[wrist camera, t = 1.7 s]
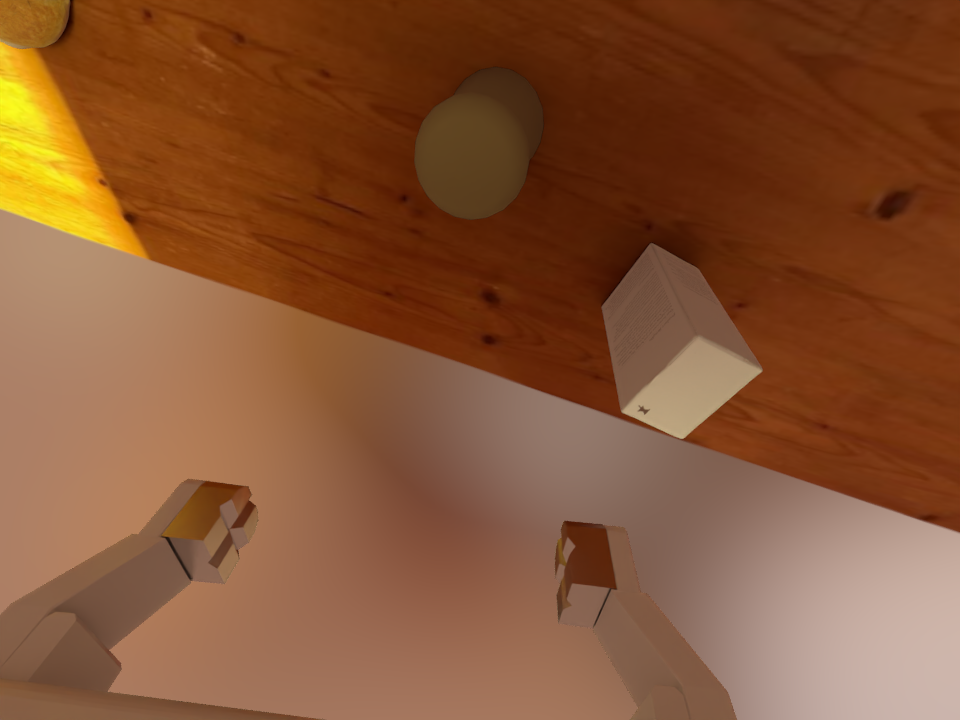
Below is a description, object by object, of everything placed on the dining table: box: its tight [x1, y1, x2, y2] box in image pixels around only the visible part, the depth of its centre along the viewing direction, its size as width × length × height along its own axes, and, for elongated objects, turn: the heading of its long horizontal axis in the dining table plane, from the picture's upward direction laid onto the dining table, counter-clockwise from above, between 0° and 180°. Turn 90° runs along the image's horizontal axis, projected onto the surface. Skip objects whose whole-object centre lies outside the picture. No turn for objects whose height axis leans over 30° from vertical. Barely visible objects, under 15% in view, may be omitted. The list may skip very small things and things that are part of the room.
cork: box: [414, 67, 544, 220], centre depth 23 cm, size 6×6×11 cm
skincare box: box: [602, 243, 763, 439], centre depth 27 cm, size 6×4×12 cm
